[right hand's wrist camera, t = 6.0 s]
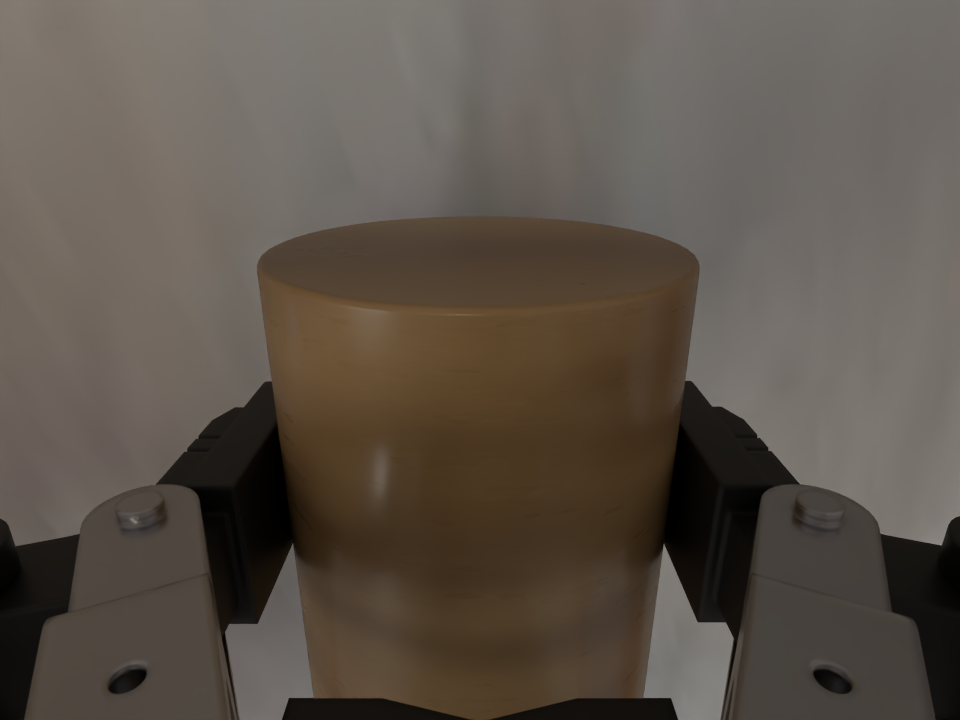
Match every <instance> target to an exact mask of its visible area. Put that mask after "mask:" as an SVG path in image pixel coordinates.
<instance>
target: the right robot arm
mask: <svg viewBox="0 0 960 720" xmlns="http://www.w3.org/2000/svg"><path fill="white" fill-rule="evenodd" d="M292 544H293V537H292V530H291V522H290V515H289V507H288V499H287V492H286V484H285V477H284V469H283V462H282V454H281V447H280V439H279V432H278V424H277V417H276V409H275V401H274V394H273V386H272V382H264V383H263V384H262V386H261V387H260V388H259V389H258V391H257V392H256V393H255V394H254V396H253V397H252V398H251V399H250V401H249V402H248V403H247V404H246V406H245V407H235V408H233V409H232V410H230V411H228V412H226V413H224V414H223V415H221V416H219V417H217V418H216V419H214V420H212V421H211V422H210V424H209V425H208V426H207V427H206V428H205V429H204V430H203V431H202V433H201V434H200V435H199V439H195V441H194V442H193V443H192V444H191V445H190V446H189V447H188V450H187V452H184V453H183V454H182V455H181V457H180V458H179V459H178V460H177V461H176V462H175V463H174V465H173V466H172V467H171V468H170V469H169V470H168V471H167V473H166V474H165V475H164V476H163V477H162V478H161V479H160V480H159V482H158V483H157V484H156V485H151V486H145V487H141V488H137V489H133V490H130V491H127V492H124V493H121V494H119V495H117V496H114V497H112V498H110V499H109V500H107V501H105V502H103V503H102V504H100V505H99V506H97V507H96V508H95V509H94V510H92V511H91V512H90V513H89V514H88V515H87V516H86V518H85V519H84V521H83V522H82V525H81V529H80V534H78V535H73V536H69V537H64V538H58V539H53V540H48V541H42V542H37V543H32V544H26V545H21V546H16V547H15V544H14V541H13V538H12V535H11V532H10V529H9V526H8V524H7V523H6V522H5V521H3V520H2V519H0V720H240V719H239V713H238V707H237V700H236V694H235V688H234V682H233V675H232V669H231V663H230V657H229V651H228V646H227V641H226V636H225V631H226V629H227V627H228V625H229V624H258V621H259V619H260V617H261V615H262V612H263V610H264V608H265V605H266V603H267V601H268V599H269V596H270V594H271V592H272V589H273V587H274V585H275V583H276V580H277V578H278V576H279V573H280V571H281V569H282V567H283V564H284V562H285V560H286V557H287V555H288V553H289V550H290V548H291V546H292ZM664 544H665V547H666V549H667V551H668V554H669V556H670V558H671V561H672V563H673V565H674V568H675V570H676V572H677V575H678V577H679V579H680V582H681V584H682V586H683V589H684V591H685V593H686V596H687V598H688V600H689V603H690V605H691V607H692V610H693V612H694V614H695V617H696V619H697V621H698V622H726V623H727V625H728V627H729V629H730V631H731V633H732V635H733V638H734V641H733V646H732V651H731V657H730V663H729V669H728V675H727V682H726V688H725V694H724V700H723V707H722V713H721V719H720V720H960V516H959V517H956V518H954V519H953V520H951V522H950V523H949V525H948V528H947V531H946V535H945V538H944V541H943V544H942V546H941V545H935V544H930V543H925V542H919V541H914V540H909V539H903V538H898V537H893V536H887V535H883V534H880V529H879V526H878V522H877V521H876V519H875V518H874V516H873V515H872V514H871V513H870V512H869V511H868V510H866V509H865V508H864V507H863V506H861V505H860V504H858V503H857V502H855V501H853V500H851V499H850V498H848V497H846V496H843V495H841V494H839V493H836V492H833V491H830V490H827V489H823V488H819V487H815V486H809V485H800V484H799V483H798V482H797V480H796V479H795V478H794V477H793V476H792V475H791V473H790V472H789V471H788V470H787V469H786V468H785V467H784V465H783V464H782V463H781V462H780V461H779V460H778V458H777V457H776V456H775V455H774V454H773V453H772V452H771V451H768V447H767V446H766V445H765V443H764V442H763V441H762V440H761V439H760V438H757V434H756V433H755V432H754V431H753V430H752V428H751V427H750V426H749V425H748V424H747V423H746V422H745V420H743V419H742V418H740V417H738V416H736V415H735V414H733V413H731V412H729V411H728V410H726V409H724V408H722V407H712V406H711V405H710V403H709V402H708V401H707V400H706V398H705V397H704V396H703V395H702V393H701V392H700V391H699V390H698V388H697V387H696V386H695V385H694V383H693V382H691V381H685V385H684V393H683V400H682V408H681V415H680V423H679V431H678V438H677V446H676V453H675V461H674V469H673V476H672V484H671V491H670V499H669V507H668V514H667V522H666V529H665V537H664ZM282 720H471V719H467V718H462V717H458V716H454V715H450V714H446V713H442V712H438V711H434V710H429V709H425V708H421V707H417V706H413V705H409V704H405V703H401V702H396V701H392V700H388V699H384V698H289V700H288V703H287V706H286V709H285V712H284V715H283V718H282ZM489 720H678V718H677V715H676V712H675V709H674V706H673V703H672V700H671V698H576V699H572V700H568V701H564V702H559V703H555V704H551V705H547V706H543V707H539V708H535V709H531V710H526V711H522V712H518V713H514V714H510V715H506V716H502V717H498V718H493V719H489Z"/></svg>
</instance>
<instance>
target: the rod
mask: <svg viewBox="0 0 960 720" xmlns="http://www.w3.org/2000/svg"><path fill="white" fill-rule="evenodd" d="M699 268H700V265H699V262H698V260H697V258H696V257H695V255H694V254H693V253H691V252H690V251H689V250H688V249H686V248H684V247H682V246H680V245H678V244H676V243H674V242H671V241H669V240H666V239H664V238H661V237H657V236H654V235H651V234H647V233H643V232H639V231H635V230H630V229H625V228H619V227H614V226H607V225H601V224H594V223H586V222H577V221H567V220H555V219H542V218H523V217H434V218H415V219H402V220H390V221H380V222H371V223H363V224H356V225H349V226H343V227H337V228H332V229H327V230H322V231H318V232H314V233H309V234H306V235H303V236H299V237H296V238H293V239H291V240H288V241H285V242H283V243H280V244H278V245H276V246H275V247H273V248H271V249H269V250H268V251H267V252H265V253H264V254H263V255H262V256H261V258H260V260H259V261H258V265H257V273H258V281H259V288H260V296H261V303H262V311H263V319H264V326H265V334H266V341H267V349H268V356H269V364H270V371H271V379H272V386H273V394H274V401H275V409H276V417H277V424H278V432H279V439H280V447H281V454H282V462H283V469H284V477H285V484H286V492H287V499H288V507H289V515H290V522H291V530H292V537H293V545H294V552H295V560H296V567H297V575H298V582H299V590H300V597H301V605H302V613H303V620H304V628H305V635H306V643H307V650H308V658H309V665H310V673H311V680H312V688H313V696H314V698H384V699H388V700H392V701H396V702H401V703H405V704H409V705H413V706H417V707H421V708H425V709H429V710H434V711H438V712H442V713H446V714H450V715H454V716H458V717H462V718H467V719H471V720H489V719H493V718H498V717H502V716H506V715H510V714H514V713H518V712H522V711H526V710H531V709H535V708H539V707H543V706H547V705H551V704H555V703H559V702H564V701H568V700H572V699H576V698H643V697H644V689H645V681H646V674H647V666H648V659H649V651H650V643H651V636H652V628H653V621H654V613H655V605H656V598H657V590H658V583H659V575H660V567H661V560H662V552H663V545H664V537H665V529H666V522H667V514H668V507H669V499H670V491H671V484H672V476H673V469H674V461H675V453H676V446H677V438H678V431H679V423H680V415H681V408H682V400H683V393H684V385H685V377H686V370H687V362H688V355H689V347H690V339H691V332H692V324H693V317H694V309H695V301H696V294H697V286H698V279H699Z"/></svg>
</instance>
